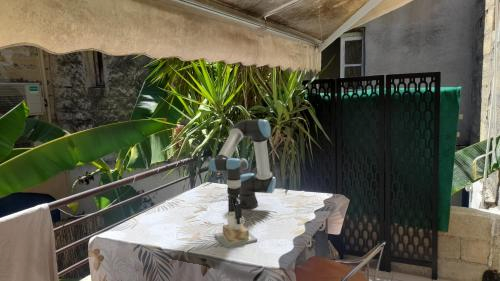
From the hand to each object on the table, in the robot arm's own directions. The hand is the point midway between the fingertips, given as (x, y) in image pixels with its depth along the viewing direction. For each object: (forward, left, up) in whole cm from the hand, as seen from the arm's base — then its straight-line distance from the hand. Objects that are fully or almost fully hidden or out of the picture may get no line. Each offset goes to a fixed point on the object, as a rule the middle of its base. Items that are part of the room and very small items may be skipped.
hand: (235, 227), depth 194 cm
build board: (0, 0, -7) cm, 7 cm away
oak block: (0, 0, -5) cm, 5 cm away
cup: (0, 0, 0) cm, 0 cm away
